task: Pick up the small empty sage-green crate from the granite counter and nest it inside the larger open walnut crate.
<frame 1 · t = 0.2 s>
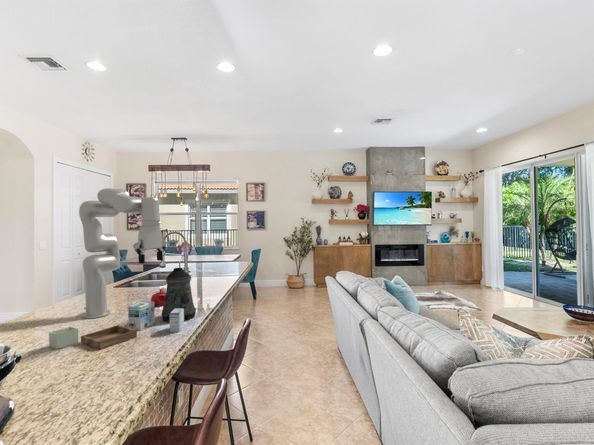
hand: (151, 261, 152), 31 cm above the kitchen island, tool pointing down, fingers open, 9 cm apart
crate: (109, 340, 140), on the kitchen island
light bulb box: (141, 326, 157), on the kitchen island
pomegranate: (160, 305, 196), on the kitchen island
beer stein: (177, 317, 172), on the kitchen island
small crate: (64, 345, 135), on the kitchen island
medicine box: (177, 329, 153), on the kitchen island
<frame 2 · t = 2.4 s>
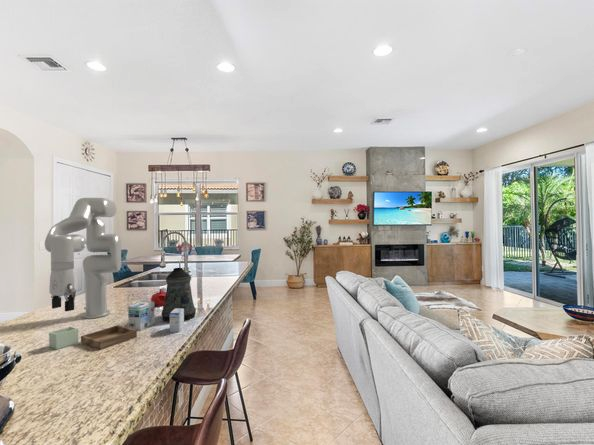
hand: (63, 309, 134), 15 cm above the kitchen island, tool pointing down, fingers open, 9 cm apart
nothing on the kitchen island moved.
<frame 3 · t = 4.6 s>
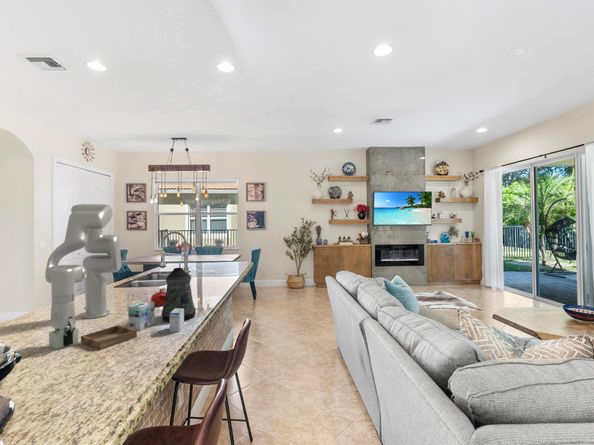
hand: (64, 343, 135), 1 cm above the kitchen island, tool pointing down, fingers closed on small crate, 5 cm apart
small crate: (64, 345, 135), on the kitchen island, touching gripper
everything else where it was.
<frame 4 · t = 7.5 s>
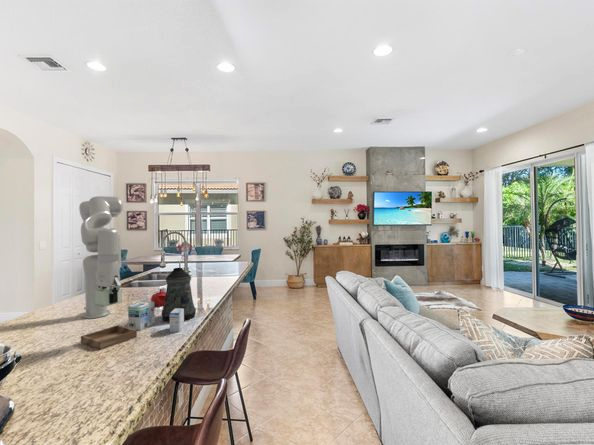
hand: (109, 301, 139), 16 cm above the kitchen island, tool pointing down, fingers closed on small crate, 5 cm apart
small crate: (108, 303, 139), point 15 cm above the kitchen island, touching gripper
everything else where it was.
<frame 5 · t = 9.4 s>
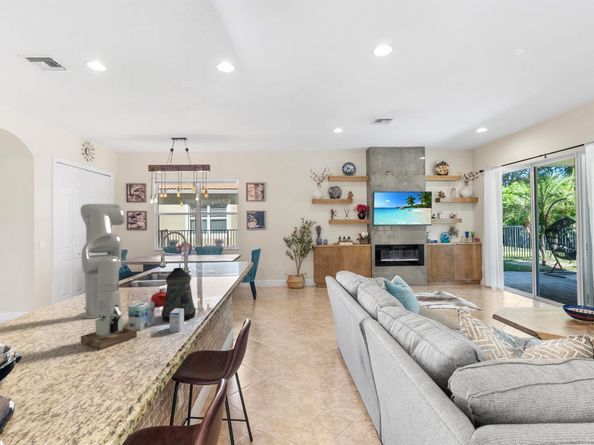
hand: (109, 330, 139), 4 cm above the kitchen island, tool pointing down, fingers closed on small crate, 5 cm apart
small crate: (109, 332, 139), point 3 cm above the kitchen island, touching gripper
everything else where it was.
when the fingers open (3 cm above the kitchen island, at t = 10.6 s): small crate drops 1 cm, resting on crate.
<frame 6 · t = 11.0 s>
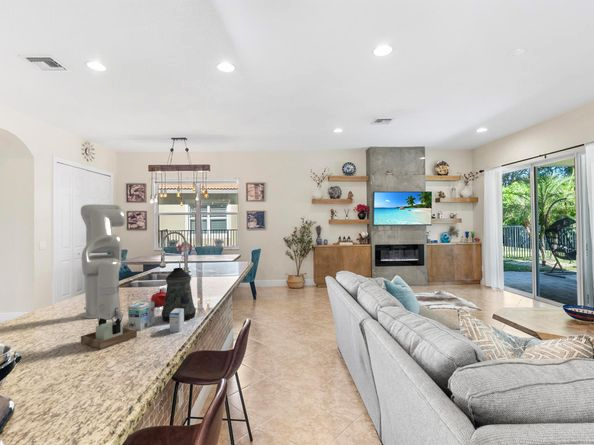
hand: (109, 331, 140), 4 cm above the kitchen island, tool pointing down, fingers open, 9 cm apart
small crate: (109, 338, 140), point 1 cm above the kitchen island, touching crate
everything else where it was.
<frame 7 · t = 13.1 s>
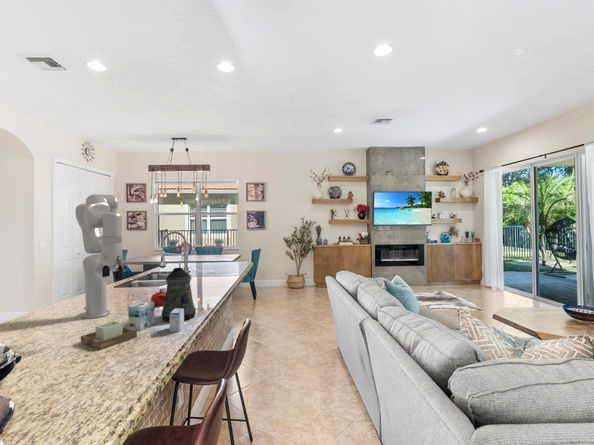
hand: (112, 278, 151), 24 cm above the kitchen island, tool pointing down, fingers open, 9 cm apart
nothing on the kitchen island moved.
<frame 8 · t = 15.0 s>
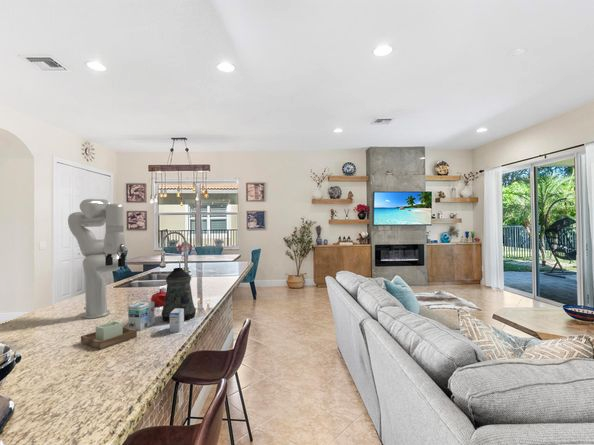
hand: (115, 266, 158), 28 cm above the kitchen island, tool pointing down, fingers open, 9 cm apart
nothing on the kitchen island moved.
at the end: small crate inside the target area on the crate (0.1 cm from its centre), point 0.6 cm above the crate's base; small crate tilted 0°; the gripper is holding nothing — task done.
